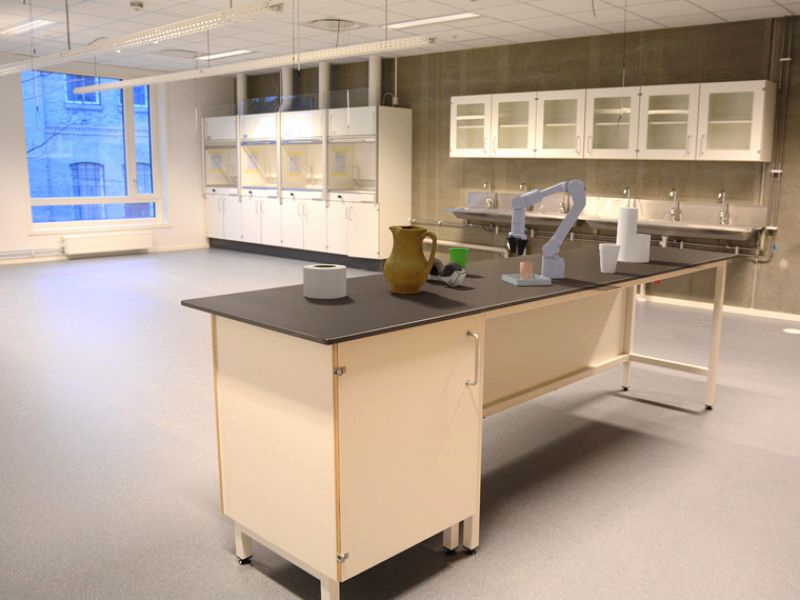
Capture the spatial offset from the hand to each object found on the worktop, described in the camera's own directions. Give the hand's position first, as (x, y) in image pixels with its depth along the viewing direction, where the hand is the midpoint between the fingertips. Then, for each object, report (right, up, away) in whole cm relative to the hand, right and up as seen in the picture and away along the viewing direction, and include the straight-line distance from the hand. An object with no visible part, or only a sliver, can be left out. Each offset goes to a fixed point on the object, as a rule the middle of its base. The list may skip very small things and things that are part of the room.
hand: (516, 254), depth 327 cm
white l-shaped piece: (+72, +1, +67) cm, 99 cm away
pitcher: (-49, -17, -49) cm, 71 cm away
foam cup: (+46, -7, +19) cm, 50 cm away
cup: (-26, -9, +4) cm, 27 cm away
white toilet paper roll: (-79, -19, -61) cm, 101 cm away
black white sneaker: (-35, -14, -25) cm, 45 cm away
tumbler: (+1, -13, -20) cm, 23 cm away
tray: (+1, -13, -20) cm, 24 cm away
